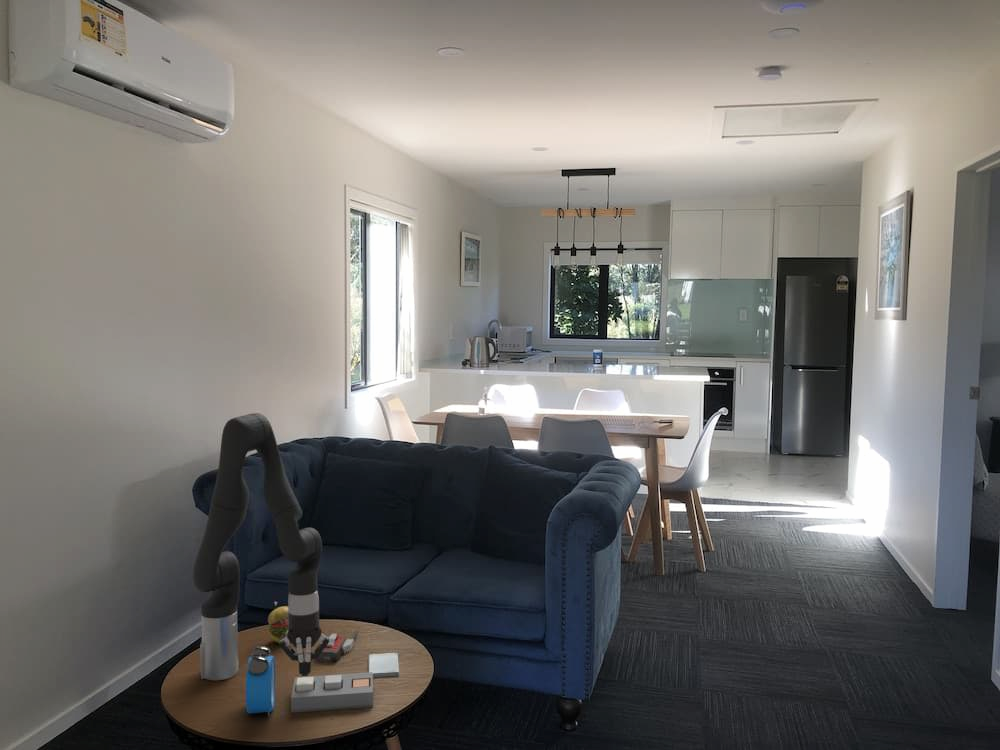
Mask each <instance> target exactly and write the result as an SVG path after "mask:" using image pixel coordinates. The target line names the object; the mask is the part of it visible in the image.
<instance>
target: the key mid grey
mask: <svg viewBox="0 0 1000 750" xmlns="http://www.w3.org/2000/svg"><path fill="white" fill-rule="evenodd" d="M330 675H331V676H326V677H325V690H326V689H340V688H341V687H342V680H341V675H337V674H330Z"/></svg>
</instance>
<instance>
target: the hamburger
mask: <svg viewBox="0 0 1000 750" xmlns="http://www.w3.org/2000/svg"><path fill="white" fill-rule="evenodd" d="M277 604H278V602H277V601H274V605H275V608H274V610H272V611H271V612H270V613H269V615H268V617H267V622H268V624H269V625H268V627H269V633H270V635H269V636H270V638H271V639H272V640H273V642H275V643H277V644H279V642H280V639H284V638H285V637H286V636H287V633H288V631H289V618H288V605H285V606H279V607H277ZM289 642H290V641H289ZM290 643H291V642H290Z"/></svg>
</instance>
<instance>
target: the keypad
mask: <svg viewBox="0 0 1000 750" xmlns="http://www.w3.org/2000/svg"><path fill="white" fill-rule="evenodd" d="M331 675H332V674H325V675H324V674H323V675H310V676H309V675H308V676H307V677H314V690H311V691H297V692H296V684H297V679H298V678H301V677H302V676H297V677H294V682H293V684H292V685H293V686H292V691H291V695H290V708H291V709H290V713H302V712H317V711H330V710H331V711H332V710H344V709H358V708H371V707H372V708H373V707H374V677H373V672H369V671H368V672H356V673H342V674H341V673H340V674H339V673H338V674H336V675H341V680H342V687H341V688H340V689H326V690H325V677H326V676H331ZM360 679H369V687H354V688H353V680H360Z"/></svg>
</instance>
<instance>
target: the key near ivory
mask: <svg viewBox="0 0 1000 750" xmlns="http://www.w3.org/2000/svg"><path fill="white" fill-rule="evenodd" d="M300 677H301V678H298V679H297V684H296V692H297V691H311V690H314V677H308V676H300Z"/></svg>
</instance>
